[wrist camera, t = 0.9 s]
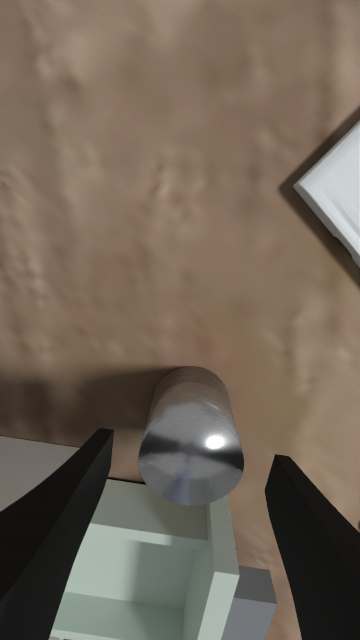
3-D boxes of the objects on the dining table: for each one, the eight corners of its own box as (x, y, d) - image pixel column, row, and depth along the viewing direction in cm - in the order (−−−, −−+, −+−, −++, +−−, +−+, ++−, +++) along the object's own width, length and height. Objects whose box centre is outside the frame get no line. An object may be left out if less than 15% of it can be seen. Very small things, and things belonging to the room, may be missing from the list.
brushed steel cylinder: (221, 437, 17) (232, 512, 12) (149, 426, 17) (133, 497, 12) (235, 372, 16) (254, 427, 11) (158, 360, 16) (144, 410, 11)
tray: (232, 617, 21) (245, 732, 16) (-5, 581, 21) (-66, 684, 16) (271, 489, 18) (302, 584, 13) (-14, 446, 18) (-94, 525, 13)
